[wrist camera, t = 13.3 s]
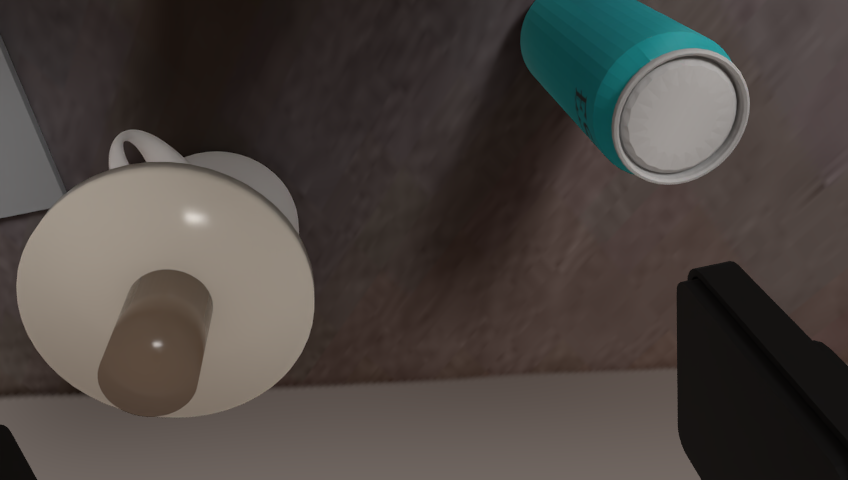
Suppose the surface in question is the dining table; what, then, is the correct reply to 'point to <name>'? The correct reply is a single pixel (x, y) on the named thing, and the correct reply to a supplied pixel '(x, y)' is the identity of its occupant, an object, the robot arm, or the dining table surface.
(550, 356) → the dining table surface
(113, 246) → the lid
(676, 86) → the beverage can
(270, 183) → the mug
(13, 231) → the dining table surface
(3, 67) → the mat
